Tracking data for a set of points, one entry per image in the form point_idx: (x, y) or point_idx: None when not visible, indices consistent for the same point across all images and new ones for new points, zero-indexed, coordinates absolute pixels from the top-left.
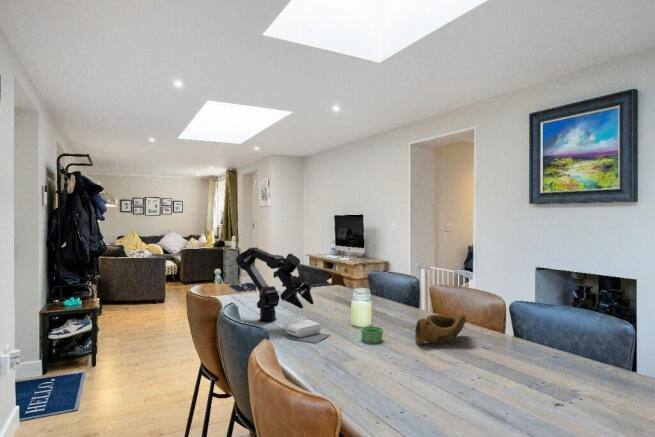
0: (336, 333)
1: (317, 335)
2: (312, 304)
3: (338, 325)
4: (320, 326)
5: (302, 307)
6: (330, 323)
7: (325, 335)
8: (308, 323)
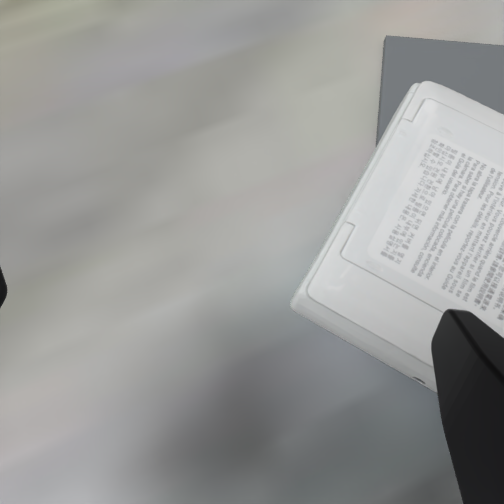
0: (301, 24)
1: None
2: (4, 284)
3: (55, 89)
4: (417, 84)
5: (465, 321)
6: (6, 177)
7: (426, 65)
8: (494, 188)
